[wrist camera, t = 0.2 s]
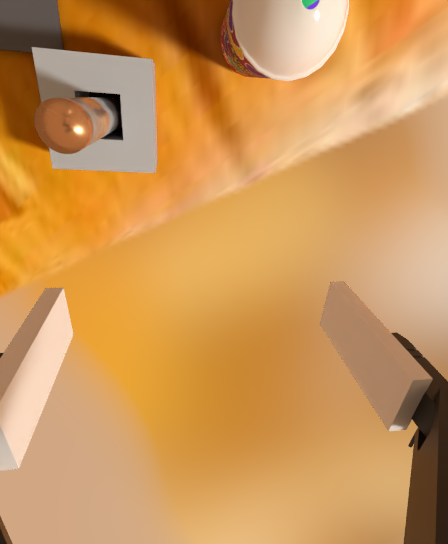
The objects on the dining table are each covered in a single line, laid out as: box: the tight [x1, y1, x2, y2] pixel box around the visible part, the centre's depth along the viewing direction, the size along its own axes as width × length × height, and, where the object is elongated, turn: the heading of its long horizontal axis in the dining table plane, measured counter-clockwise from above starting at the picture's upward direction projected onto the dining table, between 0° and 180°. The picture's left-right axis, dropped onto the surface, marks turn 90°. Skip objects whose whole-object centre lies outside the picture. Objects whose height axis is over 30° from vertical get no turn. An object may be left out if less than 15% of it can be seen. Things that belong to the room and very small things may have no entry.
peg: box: [34, 97, 122, 154], centre depth 28 cm, size 3×3×18 cm
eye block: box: [32, 47, 157, 173], centre depth 33 cm, size 10×10×6 cm
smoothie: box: [220, 0, 349, 81], centre depth 25 cm, size 8×8×20 cm
